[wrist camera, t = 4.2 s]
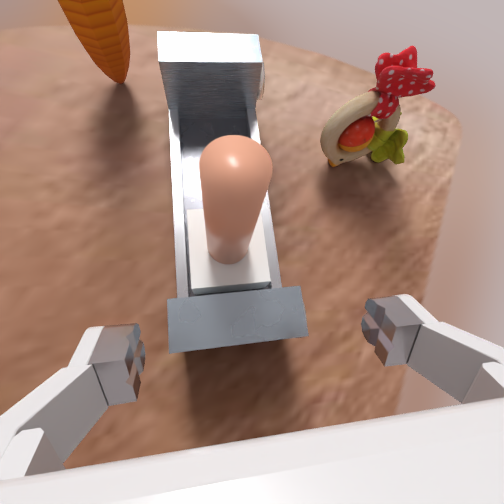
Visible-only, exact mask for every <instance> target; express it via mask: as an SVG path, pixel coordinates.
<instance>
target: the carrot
mask: <svg viewBox="0 0 504 504" xmlns="http://www.w3.org/2000/svg"><path fill="white" fill-rule="evenodd" d="M58 2H59V4H60V6H61V8H62V9H63V11H64V13H65V15H66V17H67V19H68V21H69V23H70V25H71V27H72V28H73V30H74V32H75V34H76V35H77V37H78V39H79V40H80V42H81V43H82V45H83V46H84V48H85V49H86V51H87V52H88V54H89V55H90V57H91V58H92V60H93V61H94V62H95V64H96V65H97V66H98V67H99V68H100V69H101V70H102V71H103V72H104V73H105V74H106V75H107V76H108V77H109V78H111V79H112V80H113V81H114V82H117V83H120V84H122V83H123V82H124V81H125V79H126V76H127V72H128V68H129V61H130V44H129V33H128V25H127V18H126V14H125V9H124V5H123V0H58Z"/></svg>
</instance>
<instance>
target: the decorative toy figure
mask: <svg viewBox="0 0 504 504" xmlns="http://www.w3.org/2000/svg"><path fill="white" fill-rule="evenodd" d="M375 73H376V78H377V85H376V88H372V89H370V90H369V91H368V92H367V93H364V94H362V95H359V96H357V97H355V98H354V99H352V100H350V101H349V102H347V103H346V104H345V105H343V106H342V107H341V108H339V109H338V110H337V111H336V112H335V113H334V114H333V115H332V116H331V118H330V119H329V120H328V122H327V123H326V125H325V127H324V128H323V131H322V134H321V139H320V143H321V148H322V150H323V152H324V154H325V156H326V157H327V158H328V162H329V164H330V165H331V166H332V167H335V166H338V165H339V164H341V163H344V162H348V161H352V160H355V159H357V158H360V157H362V156H364V155H366V154H368V153H370V152H371V151H372V153H371V159H372V160H373V161H375V162H377V163H379V162H382V161H384V160H386V159H390V160H391V161H392V162H393V163H394V164H400V163H404V153H403V149H402V148H403V147H404V145H405V144H406V143H407V140H408V133H407V131H406V130H402V129H395V128H396V126H397V124H398V122H399V119H400V115H401V114H402V113H401V109H400V105H399V99H398V97H399V98H400V97H405V96H413V95H418V94H422V93H427V92H429V91H431V90H432V89H434V88H435V83H434V82H433V81H431V80H430V78H432V76H433V71H432V70H431V69H424V68H417V50H416V48H415V47H414V46H410V47H408V48H407V49H405V50H403V51H402V52H401V53H399V54H397V55H393V54H391V53H383V54H381V55H380V56H379V58H378V60H377V63H376V66H375ZM372 116H374V117H372Z"/></svg>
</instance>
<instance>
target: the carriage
mask: <svg viewBox="0 0 504 504" xmlns="http://www.w3.org/2000/svg"><path fill="white" fill-rule="evenodd" d="M199 172H200V182H201V191H202V201H203V209H188V210H187V223H188V240H189V256H190V273H191V289H192V291H193V293H194V295H201V294H211V293H221V292H231V291H241V290H251V289H261V288H265V287H266V286H267V285H268V284H269V283H270V282H271V279H270V272H269V265H268V257H267V250H266V243H265V236H264V229H263V222H262V214H261V208H262V205H263V202H264V199H265V196H266V193H267V190H268V187H269V184H270V181H271V178H272V173H273V164H272V160H271V158H270V156H269V154H268V152H267V151H266V149H265V148H264V147H263V146H262V145H261V144H259V143H258V142H256V141H255V140H253V139H251V138H248V137H245V136H240V135H227V136H223V137H219V138H217V139H215V140H213V141H212V142H211V143H209V144H208V145H207V146H206V147H205V149H204V150H203V152H202V154H201V156H200V160H199Z"/></svg>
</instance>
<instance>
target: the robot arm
mask: <svg viewBox="0 0 504 504" xmlns="http://www.w3.org/2000/svg"><path fill="white" fill-rule="evenodd" d="M365 309H366V310H367V313H366V314H365V315H364V316H363V317H362V323H361V326H362V332H363V335H364V337H365V339H366V340H367V342H368V343H370V344H372V345H374V346H375V351H374V352H375V353H376V355H377V356H378V358H379V359H380V361H381V362H382V363H383V365H384V366H393V365H402V364H407V365H408V366H409V367H411V368H412V369H413V370H415V371H416V372H418V373H419V374H421V375H422V376H424V377H425V378H427V379H428V380H429V381H431V382H432V383H434V384H435V385H436V386H438V387H439V388H441V389H442V390H444V391H445V392H446V393H448V394H449V395H451V396H452V397H454V398H455V399H456V400H458V401H459V402H461V404H460V405H454V406H448V407H442V408H436V409H429V410H423V411H418V412H412V413H405V414H399V415H393V416H387V417H381V418H375V419H369V420H363V421H357V422H352V423H346V424H340V425H333V426H327V427H321V428H315V429H309V430H303V431H297V432H291V433H285V434H279V435H273V436H266V437H260V438H254V439H248V440H242V441H236V442H230V443H224V444H218V445H212V446H206V447H200V448H194V449H188V450H182V451H175V452H169V453H163V454H157V455H151V456H145V457H139V458H133V459H127V460H121V461H115V462H109V463H103V464H97V465H91V466H85V467H79V468H73V469H67V470H66V469H65V467H64V465H63V463H64V462H65V460H66V459H67V458H68V457H69V455H70V454H71V453H72V452H73V450H74V449H75V448H76V447H77V446H78V444H79V443H80V442H81V441H82V439H83V438H84V437H85V436H86V434H87V433H88V432H89V431H90V429H91V428H92V427H93V426H94V425H95V423H96V422H97V421H98V420H99V418H100V417H101V416H102V415H103V413H104V412H105V411H106V410H107V409H108V406H110V405H116V404H122V403H128V402H134V401H137V398H138V394H139V389H140V384H141V381H140V377H139V375H140V374H141V373H142V372H143V370H144V365H145V348H144V344H143V342H142V341H141V340H140V339H139V337H140V333H141V331H140V328H139V325H138V324H137V323H132V324H120V325H108V326H99V327H89V328H88V329H87V330H86V331H85V332H84V334H83V336H82V338H81V340H80V343H79V345H78V347H77V349H76V351H75V353H74V355H73V357H72V359H71V361H70V363H69V365H68V367H67V368H62V369H60V370H59V371H58V372H56V373H55V374H54V375H53V376H51V377H50V378H49V379H47V380H46V381H45V382H44V383H42V384H41V385H40V386H38V387H37V388H36V389H35V390H33V391H32V392H31V393H29V394H28V395H27V396H26V397H24V398H23V399H22V400H20V401H19V402H18V403H17V404H15V405H14V406H13V407H11V408H10V409H9V410H8V411H6V412H5V413H4V414H2V415H1V416H0V504H504V348H503V347H500V346H498V345H496V344H493V343H491V342H489V341H487V340H484V339H482V338H480V337H477V336H475V335H473V334H470V333H468V332H466V331H463V330H461V329H459V328H456V327H454V326H452V325H449V324H447V323H445V322H438V321H437V320H436V319H435V318H434V317H433V316H432V315H431V314H430V313H429V312H428V311H427V310H426V309H425V308H424V307H422V306H421V305H420V304H419V303H418V302H417V301H416V300H415V299H414V298H413V297H412V296H410V295H408V294H402V295H395V296H388V297H380V298H371V299H368V300H367V301H366V304H365Z"/></svg>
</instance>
